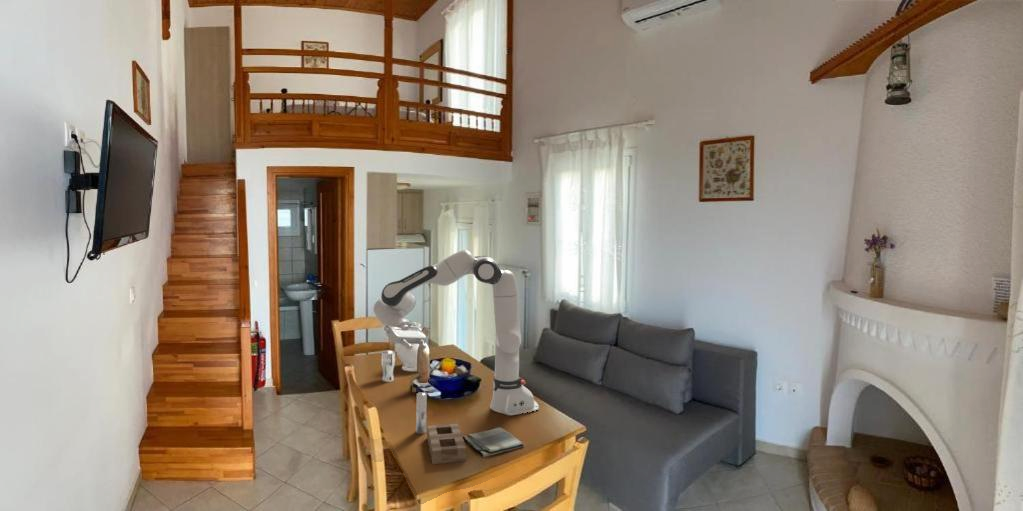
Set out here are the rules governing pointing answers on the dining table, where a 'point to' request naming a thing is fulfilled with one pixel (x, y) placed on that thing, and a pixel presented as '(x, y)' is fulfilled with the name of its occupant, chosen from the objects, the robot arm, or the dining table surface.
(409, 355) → the decorative vase
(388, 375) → the beer glass
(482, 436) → the dish towel
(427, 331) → the bird sculpture
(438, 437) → the bore block
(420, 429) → the pin
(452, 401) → the dining table surface
